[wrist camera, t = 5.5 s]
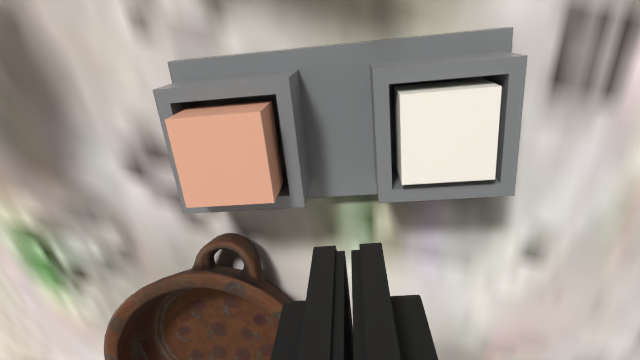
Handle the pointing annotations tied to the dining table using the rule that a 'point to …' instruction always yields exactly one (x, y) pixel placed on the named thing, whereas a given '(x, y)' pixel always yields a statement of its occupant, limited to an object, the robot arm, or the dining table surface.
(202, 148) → the key terracotta
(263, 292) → the dish
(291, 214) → the dining table surface
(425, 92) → the key cream
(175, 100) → the key panel
